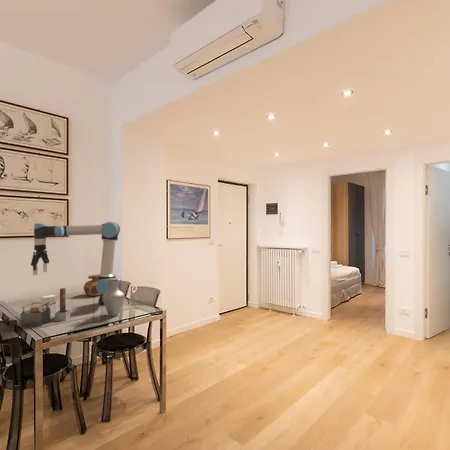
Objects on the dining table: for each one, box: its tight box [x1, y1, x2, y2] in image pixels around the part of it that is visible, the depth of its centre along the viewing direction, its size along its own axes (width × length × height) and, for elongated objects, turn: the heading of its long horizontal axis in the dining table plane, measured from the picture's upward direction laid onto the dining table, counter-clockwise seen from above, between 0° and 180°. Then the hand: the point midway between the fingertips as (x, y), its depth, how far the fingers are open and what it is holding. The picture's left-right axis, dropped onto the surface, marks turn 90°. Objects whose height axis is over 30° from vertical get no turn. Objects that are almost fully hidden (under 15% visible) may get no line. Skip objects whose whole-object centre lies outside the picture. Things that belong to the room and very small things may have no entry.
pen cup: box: [54, 309, 71, 322], centre depth 208 cm, size 7×7×5 cm
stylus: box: [59, 287, 67, 313], centre depth 208 cm, size 3×3×20 cm
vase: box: [102, 277, 125, 317], centre depth 217 cm, size 14×14×25 cm
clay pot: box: [83, 273, 101, 297], centre depth 282 cm, size 19×19×20 cm
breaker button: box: [30, 307, 39, 312], centre depth 199 cm, size 4×4×5 cm
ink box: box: [40, 294, 57, 314], centre depth 224 cm, size 9×5×12 cm, turn 148°
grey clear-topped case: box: [20, 300, 51, 328], centre depth 199 cm, size 12×12×12 cm
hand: (40, 273), depth 230 cm, fingers open, 13 cm apart
